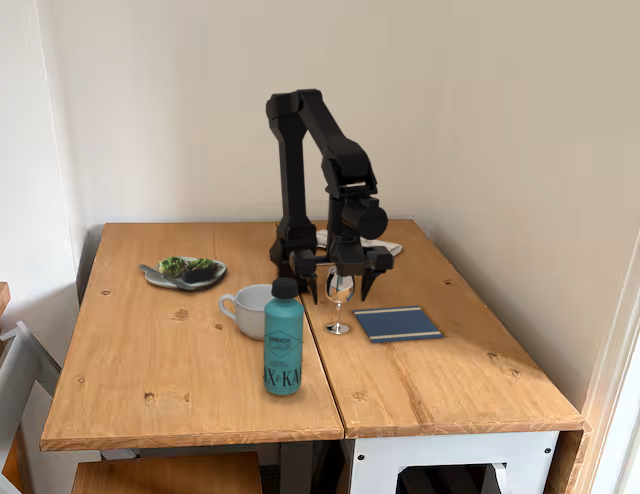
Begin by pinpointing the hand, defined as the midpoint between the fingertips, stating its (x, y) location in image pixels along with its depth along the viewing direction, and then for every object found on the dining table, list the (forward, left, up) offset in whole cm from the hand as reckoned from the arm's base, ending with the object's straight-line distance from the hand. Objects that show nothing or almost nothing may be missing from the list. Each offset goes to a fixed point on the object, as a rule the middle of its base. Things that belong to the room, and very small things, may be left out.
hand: (339, 302), depth 136 cm
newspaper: (+15, +43, -6) cm, 46 cm away
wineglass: (0, 0, -6) cm, 6 cm away
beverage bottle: (-15, -22, -6) cm, 27 cm away
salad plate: (-27, +30, -6) cm, 41 cm away
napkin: (+12, 0, -6) cm, 13 cm away
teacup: (-16, +1, -6) cm, 17 cm away
